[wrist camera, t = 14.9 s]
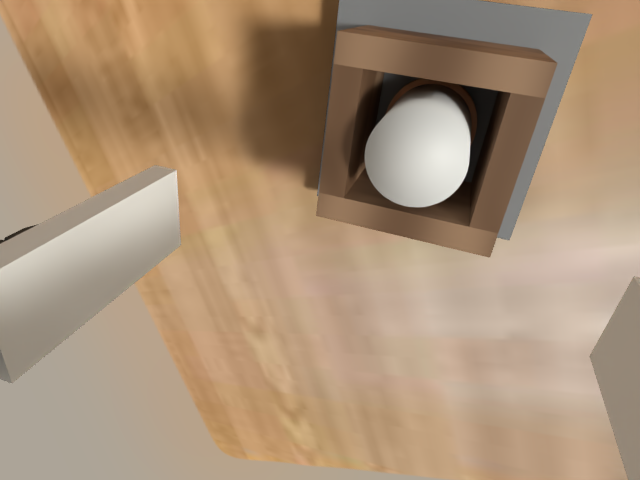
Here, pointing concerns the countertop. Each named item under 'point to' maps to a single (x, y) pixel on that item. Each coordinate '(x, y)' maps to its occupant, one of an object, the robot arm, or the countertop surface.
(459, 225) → the collar
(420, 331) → the countertop surface
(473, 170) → the square plate with peg
